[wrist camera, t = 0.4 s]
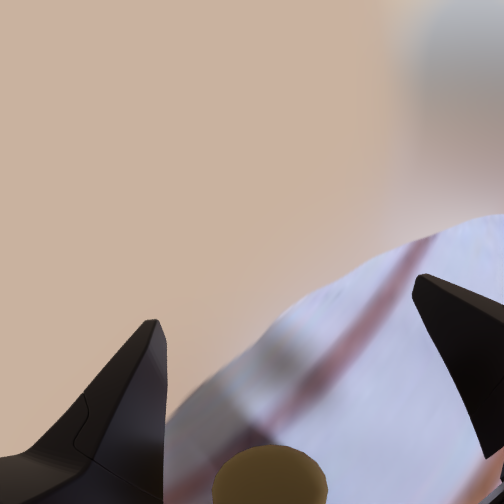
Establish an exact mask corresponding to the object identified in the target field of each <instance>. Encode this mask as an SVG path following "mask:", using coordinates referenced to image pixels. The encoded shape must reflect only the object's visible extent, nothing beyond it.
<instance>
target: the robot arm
mask: <svg viewBox="0 0 504 504" xmlns="http://www.w3.org/2000/svg"><path fill="white" fill-rule="evenodd" d="M412 299H413V302H414V304H415V306H416V308H417V310H418V312H419V314H420V316H421V318H422V321H423V323H424V325H425V327H426V329H427V331H428V333H429V335H430V337H431V339H432V340H433V342H434V344H435V346H436V348H437V350H438V351H439V353H440V355H441V357H442V359H443V361H444V363H445V365H446V367H447V369H448V371H449V373H450V375H451V377H452V379H453V381H454V383H455V385H456V387H457V389H458V391H459V394H460V396H461V398H462V400H463V403H464V405H465V407H466V409H467V412H468V414H469V416H470V419H471V422H472V424H473V427H474V429H475V432H476V435H477V437H478V440H479V443H480V446H481V448H482V451H483V454H484V457H485V459H488V458H489V457H490V456H492V455H493V454H495V453H496V452H497V451H498V450H500V449H501V448H502V447H503V446H504V305H503V304H502V305H501V304H500V303H498V302H496V301H493V300H491V299H489V298H486V297H484V296H482V295H479V294H477V293H475V292H472V291H470V290H467V289H465V288H462V287H460V286H457V285H455V284H452V283H450V282H448V281H445V280H442V279H440V278H437V277H435V276H432V275H430V274H421V275H418V276H417V278H416V280H415V284H414V288H413V291H412ZM167 386H168V384H167V343H166V338H165V335H164V332H163V330H162V327H161V325H160V322H159V321H158V320H157V319H152V320H146V321H144V322H143V324H141V326H140V327H139V328H138V329H137V330H136V331H135V332H134V333H133V335H132V336H131V337H130V338H129V339H128V341H126V343H125V344H124V345H123V346H122V347H121V348H120V349H119V350H118V352H117V353H116V354H115V355H114V356H113V357H112V359H111V360H110V361H109V362H108V363H107V364H106V365H105V367H104V368H103V369H102V370H101V371H100V372H99V374H98V375H97V376H96V377H95V378H94V379H93V381H92V382H91V383H90V384H89V385H88V387H87V388H86V389H85V390H84V393H82V394H81V395H80V396H79V397H78V398H77V400H76V401H75V402H74V403H73V404H72V405H71V407H70V408H69V409H68V410H67V411H66V412H65V413H64V414H63V416H61V417H60V419H59V420H58V421H57V422H56V423H55V424H54V425H53V426H52V427H51V428H50V429H49V430H48V431H47V432H46V433H45V434H44V435H43V436H42V437H41V438H40V439H39V440H38V441H37V442H36V443H35V444H34V445H33V446H32V447H31V448H29V449H28V450H26V451H25V452H23V453H20V454H17V455H13V456H7V457H1V458H0V504H163V459H164V433H165V415H166V400H167ZM500 479H501V481H502V484H501V485H499V486H498V487H497V488H496V489H495V490H494V491H493V492H492V493H490V494H489V495H488V496H487V497H486V498H485V499H483V500H482V501H481V502H480V503H478V504H504V464H503V468H502V473H501V477H500Z"/></svg>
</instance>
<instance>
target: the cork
mask: <svg viewBox="0 0 504 504" xmlns="http://www.w3.org/2000/svg"><path fill="white" fill-rule="evenodd" d="M327 493H328V487H327V482H326V477H325V474H324V473H323V471H322V470H321V468H320V467H319V465H318V464H317V462H315V461H314V460H313V459H312V458H310V457H309V456H308V455H306V454H305V453H304V452H301V451H299V450H296V449H293V448H291V447H288V446H279V445H264V446H257V447H252V448H250V449H247V450H245V451H242V452H240V453H238V454H236V455H235V456H234V457H232V458H231V459H230V460H228V461H227V462H226V463H224V465H223V466H222V468H221V469H220V470H219V472H218V473H217V475H216V476H215V480H214V483H213V487H212V498H213V504H326V499H327Z"/></svg>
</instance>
